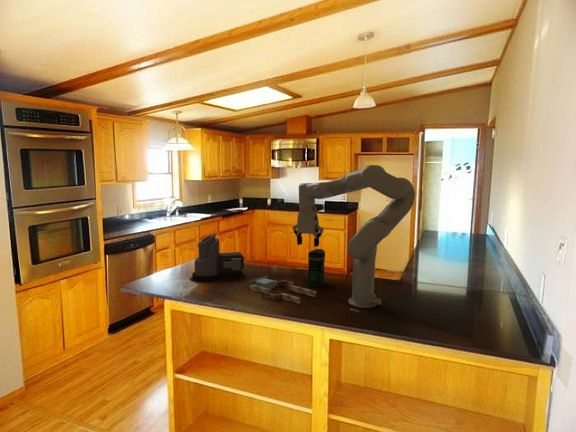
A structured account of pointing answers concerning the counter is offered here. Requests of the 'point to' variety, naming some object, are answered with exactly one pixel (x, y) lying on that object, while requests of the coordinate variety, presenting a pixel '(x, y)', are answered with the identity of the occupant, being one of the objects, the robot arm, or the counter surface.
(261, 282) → the gray block
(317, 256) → the coffee jar
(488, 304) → the counter surface
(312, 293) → the trap channel
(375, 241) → the robot arm
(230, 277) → the juicer
